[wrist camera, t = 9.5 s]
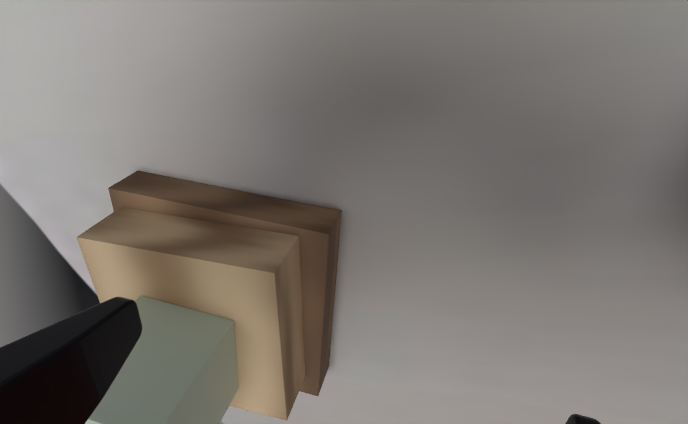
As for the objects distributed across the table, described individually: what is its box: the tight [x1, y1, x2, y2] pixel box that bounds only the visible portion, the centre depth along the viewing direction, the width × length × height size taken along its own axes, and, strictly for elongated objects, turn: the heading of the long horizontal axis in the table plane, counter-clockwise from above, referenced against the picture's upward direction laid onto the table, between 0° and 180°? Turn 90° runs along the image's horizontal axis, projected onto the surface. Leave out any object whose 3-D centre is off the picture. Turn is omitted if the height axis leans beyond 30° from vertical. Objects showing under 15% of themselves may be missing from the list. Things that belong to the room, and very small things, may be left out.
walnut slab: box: [108, 171, 342, 396], centre depth 25 cm, size 12×12×3 cm
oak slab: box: [77, 207, 305, 420], centre depth 22 cm, size 10×10×3 cm
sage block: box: [85, 296, 239, 424], centre depth 19 cm, size 5×5×6 cm
